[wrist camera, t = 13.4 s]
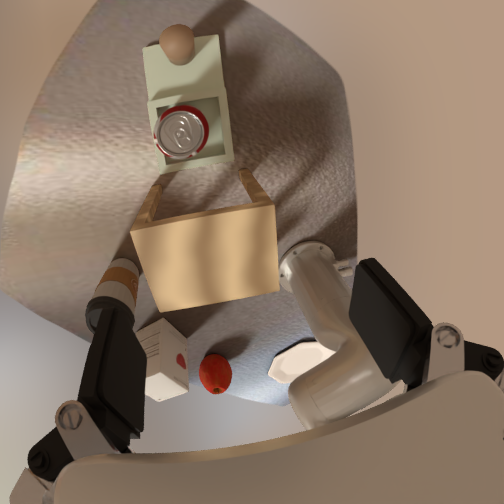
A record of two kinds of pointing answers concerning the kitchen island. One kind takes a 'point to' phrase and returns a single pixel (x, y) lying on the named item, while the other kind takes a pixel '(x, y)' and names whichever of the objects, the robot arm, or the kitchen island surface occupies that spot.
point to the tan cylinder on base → (189, 91)
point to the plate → (298, 361)
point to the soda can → (181, 132)
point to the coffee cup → (115, 292)
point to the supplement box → (164, 360)
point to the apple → (215, 373)
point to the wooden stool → (209, 251)
